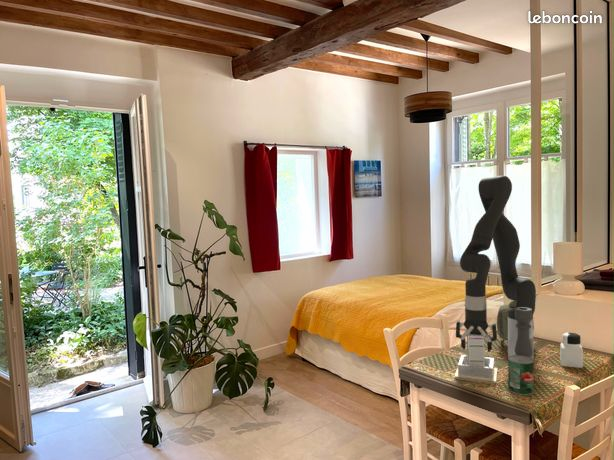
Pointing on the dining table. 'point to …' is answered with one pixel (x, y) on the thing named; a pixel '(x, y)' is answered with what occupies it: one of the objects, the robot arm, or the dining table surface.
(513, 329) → the robot arm
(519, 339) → the candle holder
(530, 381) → the canned tomato
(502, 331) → the tabletop clock
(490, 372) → the rectangular hollow frame
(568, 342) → the medicine bottle
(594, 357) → the dining table surface
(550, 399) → the dining table surface
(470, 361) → the syrup box
